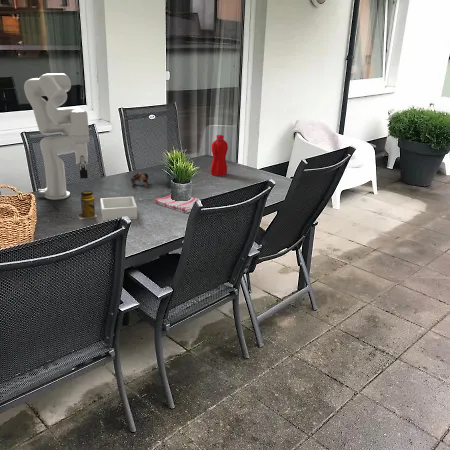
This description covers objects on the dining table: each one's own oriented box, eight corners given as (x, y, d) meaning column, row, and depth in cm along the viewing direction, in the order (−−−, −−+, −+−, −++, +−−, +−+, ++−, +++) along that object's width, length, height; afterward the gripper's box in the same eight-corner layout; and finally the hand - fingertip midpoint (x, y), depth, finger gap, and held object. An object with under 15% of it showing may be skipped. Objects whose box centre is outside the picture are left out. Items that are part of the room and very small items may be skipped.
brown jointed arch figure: (144, 189, 266) (136, 177, 263) (133, 193, 271) (125, 181, 268) (155, 179, 274) (147, 167, 271) (144, 183, 280) (136, 171, 277)
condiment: (97, 216, 226) (96, 193, 221) (80, 219, 221) (78, 195, 217) (92, 211, 231) (91, 188, 227) (75, 214, 227) (73, 191, 222)
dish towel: (176, 195, 259) (176, 189, 257) (209, 206, 246) (209, 199, 245) (154, 204, 246) (154, 197, 245) (188, 215, 233) (188, 208, 232)
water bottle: (207, 175, 294) (208, 135, 284) (216, 171, 303) (217, 132, 293) (219, 178, 290) (220, 137, 280) (228, 174, 298) (230, 134, 289)
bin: (102, 221, 221) (102, 209, 218) (101, 209, 234) (100, 198, 232) (137, 218, 225) (136, 207, 223) (133, 207, 238) (133, 196, 236)
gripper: (71, 134, 218) (75, 170, 225) (71, 143, 203) (75, 181, 209) (88, 134, 220) (91, 169, 227) (89, 142, 205) (92, 180, 212)
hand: (83, 175), depth 218 cm, fingers open, 9 cm apart
